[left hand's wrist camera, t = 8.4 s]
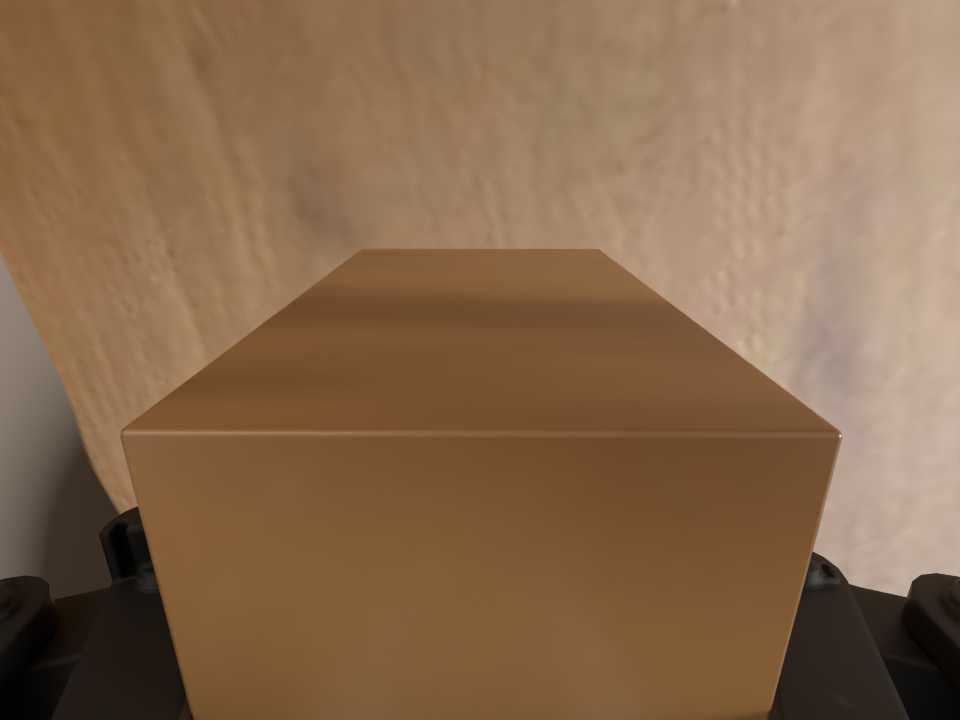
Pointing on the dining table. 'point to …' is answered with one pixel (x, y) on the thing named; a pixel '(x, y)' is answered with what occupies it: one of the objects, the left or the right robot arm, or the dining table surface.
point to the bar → (480, 502)
